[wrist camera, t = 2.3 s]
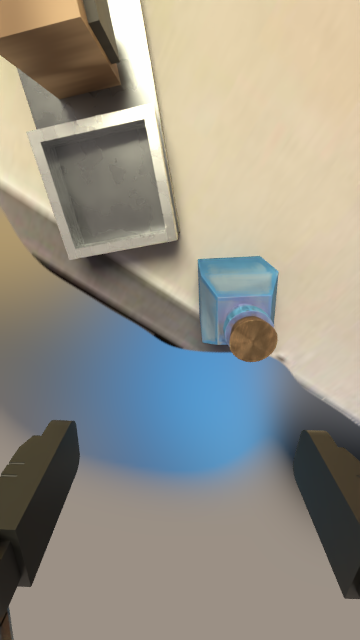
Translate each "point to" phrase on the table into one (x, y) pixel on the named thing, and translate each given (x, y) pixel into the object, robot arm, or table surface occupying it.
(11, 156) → the table surface
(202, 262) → the perfume bottle
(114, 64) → the walnut finger
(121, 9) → the grey rectangular tray
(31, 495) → the robot arm
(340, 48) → the table surface
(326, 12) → the table surface
